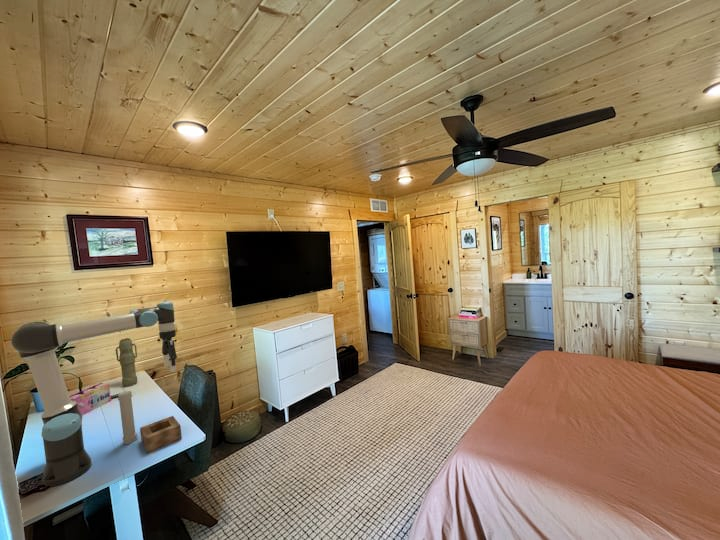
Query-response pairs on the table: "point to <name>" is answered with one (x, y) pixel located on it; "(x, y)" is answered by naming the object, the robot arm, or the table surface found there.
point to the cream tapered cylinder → (127, 417)
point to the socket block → (160, 434)
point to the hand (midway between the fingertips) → (170, 368)
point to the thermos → (127, 362)
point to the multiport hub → (114, 396)
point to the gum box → (92, 398)
